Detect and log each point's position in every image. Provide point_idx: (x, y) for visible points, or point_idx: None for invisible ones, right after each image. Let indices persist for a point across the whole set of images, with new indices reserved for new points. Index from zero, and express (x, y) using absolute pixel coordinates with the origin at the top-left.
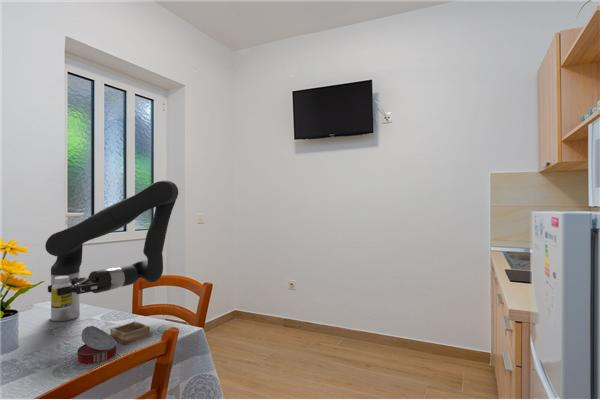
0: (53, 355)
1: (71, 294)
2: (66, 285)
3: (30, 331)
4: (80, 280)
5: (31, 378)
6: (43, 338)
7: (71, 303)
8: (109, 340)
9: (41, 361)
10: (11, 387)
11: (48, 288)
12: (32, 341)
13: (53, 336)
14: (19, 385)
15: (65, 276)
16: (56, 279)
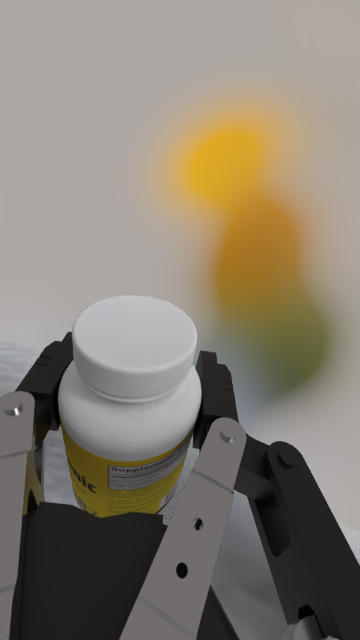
0: (58, 465)
1: (73, 469)
2: (68, 373)
3: (356, 550)
4: (127, 615)
5: (6, 376)
6: (237, 535)
7: (79, 502)
8: None
9: (59, 428)
10: (18, 350)
11: (199, 358)
12: (235, 495)
13: (230, 575)
14: (8, 357)
15: (137, 349)
16: (126, 299)
